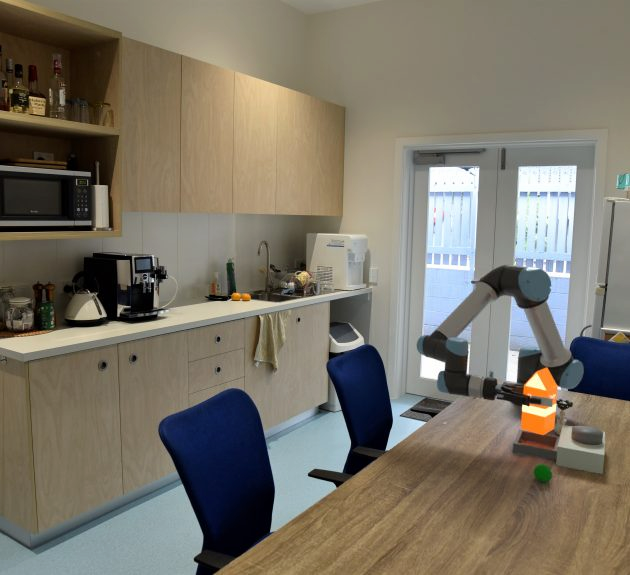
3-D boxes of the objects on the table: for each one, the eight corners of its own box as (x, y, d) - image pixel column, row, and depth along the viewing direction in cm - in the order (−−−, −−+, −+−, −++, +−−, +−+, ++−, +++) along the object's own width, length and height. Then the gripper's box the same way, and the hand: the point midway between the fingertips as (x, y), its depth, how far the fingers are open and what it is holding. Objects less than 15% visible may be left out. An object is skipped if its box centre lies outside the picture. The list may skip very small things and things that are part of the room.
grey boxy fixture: (520, 434, 210) (521, 409, 209) (603, 449, 198) (605, 423, 197) (510, 456, 190) (512, 429, 189) (602, 474, 179) (605, 445, 177)
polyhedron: (537, 475, 176) (539, 460, 176) (554, 481, 173) (555, 465, 172) (530, 480, 173) (531, 464, 172) (546, 486, 169) (547, 470, 169)
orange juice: (554, 428, 197) (559, 369, 194) (543, 435, 190) (548, 374, 188) (531, 422, 202) (535, 364, 200) (520, 428, 196) (524, 369, 193)
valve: (567, 432, 213) (569, 399, 212) (573, 439, 207) (576, 405, 205) (548, 431, 214) (550, 398, 212) (553, 437, 207) (556, 404, 206)
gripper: (489, 390, 213) (556, 400, 203) (476, 407, 193) (549, 419, 183) (490, 369, 212) (557, 378, 202) (477, 385, 192) (551, 396, 182)
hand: (554, 398), depth 193 cm, fingers closed on orange juice, 10 cm apart
